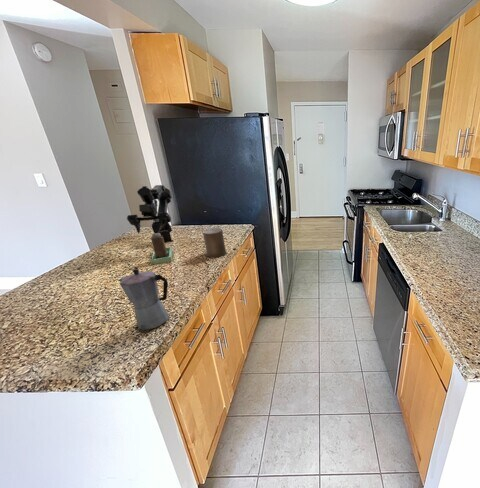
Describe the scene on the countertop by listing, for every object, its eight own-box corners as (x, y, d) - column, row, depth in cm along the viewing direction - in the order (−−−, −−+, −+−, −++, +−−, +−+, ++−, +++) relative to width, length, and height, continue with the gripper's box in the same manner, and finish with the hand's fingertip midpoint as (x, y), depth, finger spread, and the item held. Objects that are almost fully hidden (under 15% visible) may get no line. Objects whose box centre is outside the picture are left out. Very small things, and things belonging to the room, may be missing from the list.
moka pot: (139, 314, 92) (123, 263, 85) (184, 312, 94) (172, 262, 86) (122, 332, 84) (103, 277, 76) (172, 329, 85) (157, 275, 77)
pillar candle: (229, 253, 142) (225, 227, 137) (211, 259, 136) (207, 232, 130) (220, 249, 149) (216, 224, 143) (203, 254, 142) (198, 228, 136)
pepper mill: (166, 256, 137) (160, 231, 132) (169, 259, 134) (163, 233, 129) (155, 259, 134) (148, 234, 129) (158, 262, 131) (151, 236, 125)
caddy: (155, 254, 142) (153, 249, 141) (172, 251, 146) (171, 246, 145) (152, 265, 129) (151, 260, 128) (171, 262, 133) (170, 256, 132)
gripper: (123, 199, 132) (120, 224, 124) (165, 197, 137) (163, 221, 130) (133, 212, 141) (130, 236, 134) (171, 210, 146) (170, 233, 139)
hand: (148, 231), depth 134 cm, fingers open, 9 cm apart
